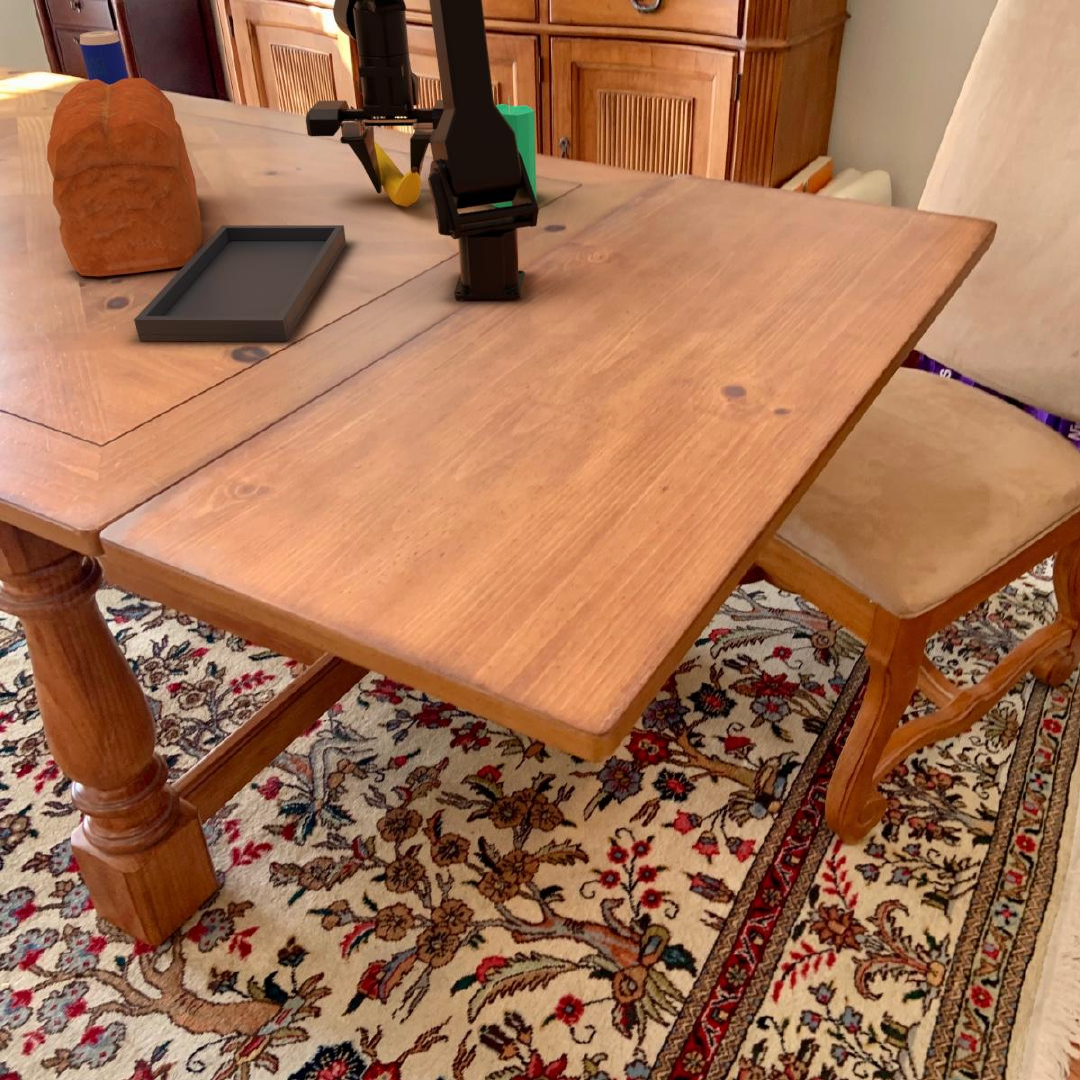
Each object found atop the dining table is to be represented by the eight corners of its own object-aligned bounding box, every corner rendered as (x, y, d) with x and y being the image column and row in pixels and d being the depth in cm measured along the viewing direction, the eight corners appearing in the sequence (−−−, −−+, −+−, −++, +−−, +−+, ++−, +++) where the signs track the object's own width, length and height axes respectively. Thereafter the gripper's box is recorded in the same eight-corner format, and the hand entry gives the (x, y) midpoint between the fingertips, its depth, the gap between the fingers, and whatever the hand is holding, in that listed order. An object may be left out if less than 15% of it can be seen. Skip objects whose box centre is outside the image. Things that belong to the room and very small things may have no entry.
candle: (531, 209, 121) (528, 102, 114) (482, 207, 122) (476, 100, 115) (541, 194, 126) (539, 90, 119) (494, 192, 127) (489, 89, 120)
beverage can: (105, 146, 149) (76, 32, 140) (142, 141, 150) (115, 29, 142) (109, 154, 145) (79, 38, 136) (146, 149, 147) (119, 34, 138)
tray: (286, 341, 92) (282, 319, 91) (139, 340, 93) (133, 319, 91) (346, 243, 113) (343, 225, 111) (225, 243, 113) (221, 225, 112)
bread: (69, 283, 104) (23, 129, 96) (81, 207, 125) (44, 74, 117) (210, 266, 108) (177, 115, 99) (199, 194, 129) (171, 64, 120)
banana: (389, 179, 132) (383, 127, 129) (432, 222, 118) (427, 165, 114) (367, 182, 132) (361, 130, 128) (408, 225, 117) (402, 169, 113)
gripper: (473, 38, 121) (480, 172, 130) (318, 40, 122) (336, 173, 131) (462, 57, 112) (470, 200, 121) (295, 58, 113) (316, 200, 122)
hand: (397, 192), depth 124 cm, fingers closed on banana, 4 cm apart
